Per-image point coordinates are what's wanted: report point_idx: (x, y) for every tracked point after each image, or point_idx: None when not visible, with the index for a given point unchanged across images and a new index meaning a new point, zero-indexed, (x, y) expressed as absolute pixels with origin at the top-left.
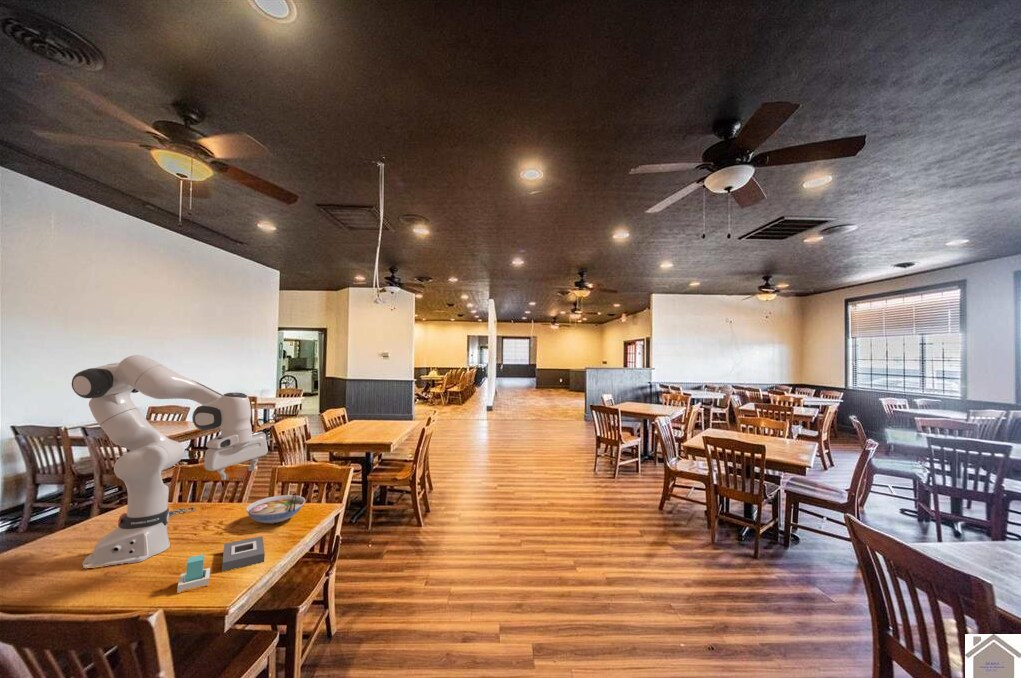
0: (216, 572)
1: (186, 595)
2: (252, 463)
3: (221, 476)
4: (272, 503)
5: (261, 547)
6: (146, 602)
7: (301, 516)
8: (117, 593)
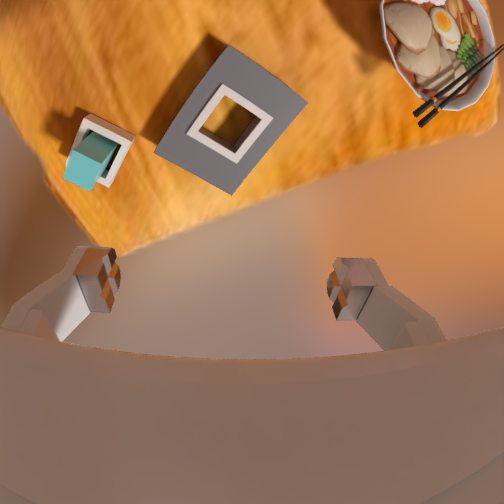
0: (150, 135)
1: None
2: (384, 310)
3: (68, 266)
4: (456, 8)
5: (252, 160)
6: (36, 143)
7: None
8: (21, 63)
